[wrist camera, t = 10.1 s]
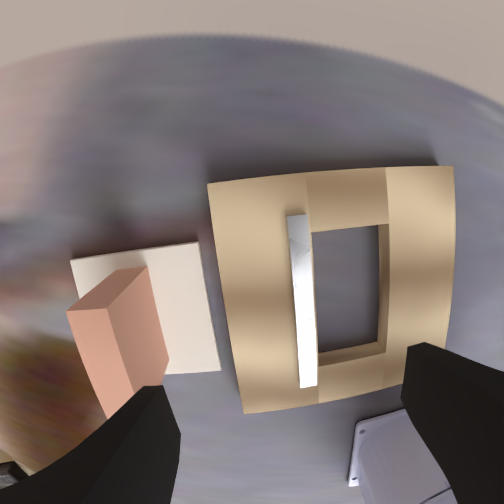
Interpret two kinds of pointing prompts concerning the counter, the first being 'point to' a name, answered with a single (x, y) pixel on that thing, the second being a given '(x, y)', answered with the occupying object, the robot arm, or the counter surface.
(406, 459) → the robot arm
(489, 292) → the counter surface
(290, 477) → the counter surface
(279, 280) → the gold flat square frame
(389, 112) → the counter surface
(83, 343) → the peach cuboid
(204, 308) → the pad
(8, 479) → the multiport hub
